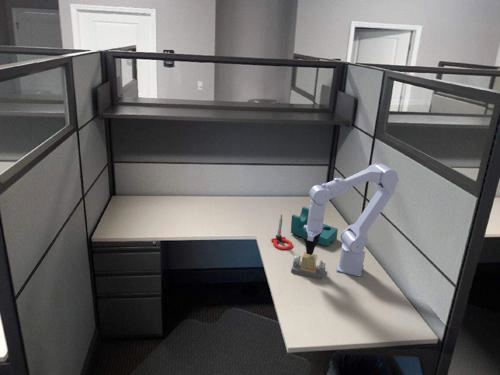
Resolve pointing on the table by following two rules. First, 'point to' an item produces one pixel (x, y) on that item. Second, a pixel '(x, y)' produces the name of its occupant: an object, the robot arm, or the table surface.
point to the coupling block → (309, 261)
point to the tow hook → (279, 238)
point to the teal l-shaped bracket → (298, 229)
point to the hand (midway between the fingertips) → (311, 249)
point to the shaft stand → (316, 273)
